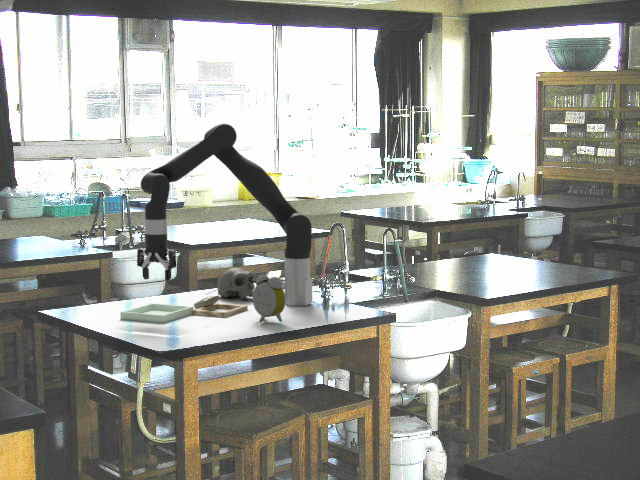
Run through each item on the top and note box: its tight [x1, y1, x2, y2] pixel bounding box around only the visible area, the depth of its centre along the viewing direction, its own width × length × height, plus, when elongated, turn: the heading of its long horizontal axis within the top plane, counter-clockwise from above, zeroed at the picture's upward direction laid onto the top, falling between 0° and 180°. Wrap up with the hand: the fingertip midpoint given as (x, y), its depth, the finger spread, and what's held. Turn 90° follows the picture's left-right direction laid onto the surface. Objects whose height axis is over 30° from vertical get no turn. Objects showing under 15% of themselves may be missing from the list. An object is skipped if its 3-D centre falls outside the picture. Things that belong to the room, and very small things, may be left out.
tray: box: [119, 302, 194, 324], centre depth 355 cm, size 17×19×2 cm
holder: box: [191, 302, 249, 318], centre depth 363 cm, size 13×16×2 cm
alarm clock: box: [252, 274, 286, 323], centre depth 346 cm, size 12×7×15 cm, turn 44°
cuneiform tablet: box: [193, 288, 221, 309], centre depth 368 cm, size 7×4×12 cm
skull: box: [216, 267, 256, 300], centre depth 393 cm, size 12×18×12 cm, turn 45°
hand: (156, 279), depth 354 cm, fingers open, 8 cm apart
